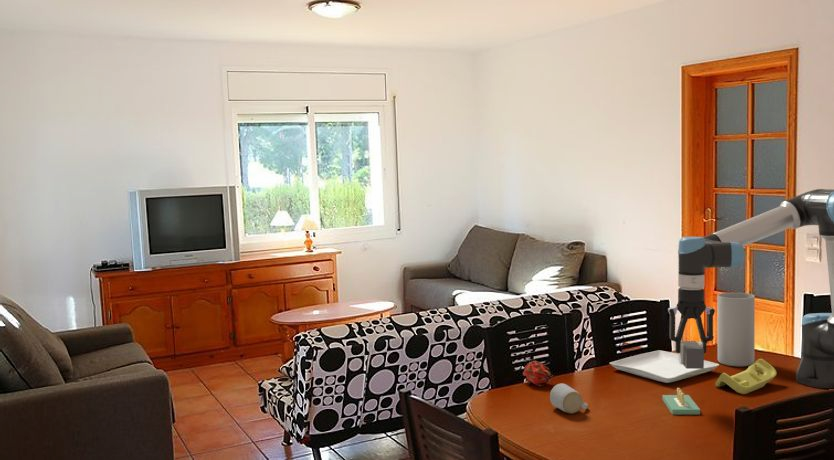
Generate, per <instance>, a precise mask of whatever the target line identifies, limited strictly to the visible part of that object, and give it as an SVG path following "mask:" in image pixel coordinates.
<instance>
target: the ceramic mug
mask: <svg viewBox="0 0 834 460" xmlns="http://www.w3.org/2000/svg"><path fill="white" fill-rule="evenodd" d="M549 400H550V403H551V404H552V406H553V407H555V408H557V409H558V410H561V411H562V412H564V413H567V414H571V415H572V414H575V413H577V412H579V410H581V409H584V410H587V408H588V403H587V402H584V401H583V397H582V395H581V394H580V392H578V391H577V390H576V389H574V388H572V387H571V386H569V385H568V384H566V383H558V384H556V385H554V386H553V388H552V389H551V390H550V393H549Z"/></svg>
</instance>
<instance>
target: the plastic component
mask: <svg viewBox="0 0 834 460" xmlns="http://www.w3.org/2000/svg"><path fill="white" fill-rule="evenodd" d="M747 367H748V368H746V369H745V370H743V371H741V372H739V373H736V374H734V375H731V376H730V375H729V374H727V373H726V372H723V373H721V374H720V375H719V377H718V378H717V380H716V381H715V383H714V386H715V387H717V388H720V387H721V388H722V387H724V386H729V388H731V389H732V390H734V391H735V392H736V393H738V394H740V395H746V394H749V393H752V392H754V391H756V390H759V389H761V388H763V387H765V386H766V384H767V383H769V382H770V381H772V380H773V379H774V378H775V377H776V376H777V370H776V368H774V366H772V365H771V364H770V363H768V362H767V361H766V360H765V359H763V358H758V359H756V360H755V361H754V363H753V364H752V365H750V366H747Z"/></svg>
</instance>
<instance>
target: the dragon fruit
mask: <svg viewBox="0 0 834 460" xmlns="http://www.w3.org/2000/svg"><path fill="white" fill-rule="evenodd" d="M521 373H522V376H524V377H526V378H525V379H526V381H527V383H528V384H531V383H532V384H534V385H535V386H537V387H544V386H545V385H544V384H546V383H547V384H548V383H550V382H551V379H552V378H553V375H554V373H552V371H550V368H549V367H548V366H547V365H544V363H543V362H540V361H537V360H533V361H529V362H528V363H527V364H526V365H525V366H524V370H523V372H521ZM543 383H544V384H543Z"/></svg>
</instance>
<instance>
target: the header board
mask: <svg viewBox="0 0 834 460" xmlns="http://www.w3.org/2000/svg"><path fill="white" fill-rule="evenodd" d="M662 401H663V403H664V405H665V406H666V407H667V409H668V410H669V412H670V413H671V415H701V408H699V406H698V404H697V403H696V402H695V401H694V400H693V399H692V398H691V396H690V395H689V394H685V392H683V390H681V388H680V387H677V388H676V394H662Z"/></svg>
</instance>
